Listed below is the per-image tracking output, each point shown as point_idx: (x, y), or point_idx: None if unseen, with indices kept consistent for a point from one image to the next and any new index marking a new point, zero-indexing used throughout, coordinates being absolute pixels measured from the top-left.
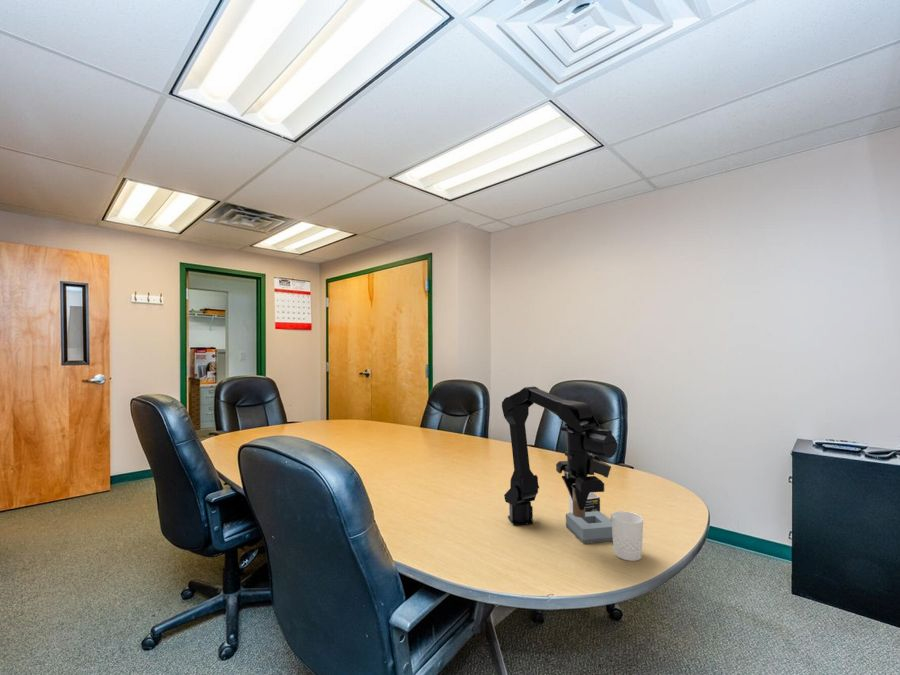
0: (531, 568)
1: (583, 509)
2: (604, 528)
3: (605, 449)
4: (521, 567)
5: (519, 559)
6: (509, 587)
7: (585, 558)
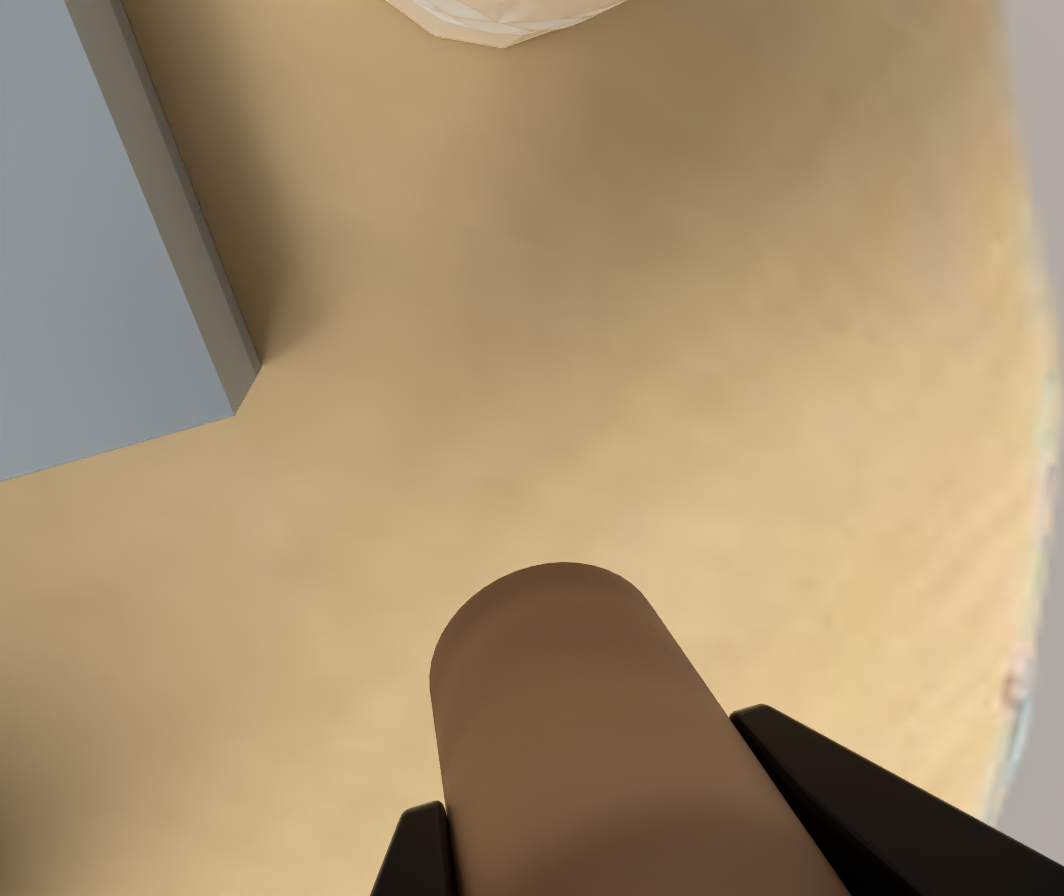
0: None
1: (768, 712)
2: (79, 24)
3: None
4: None
5: None
6: None
7: (588, 404)
